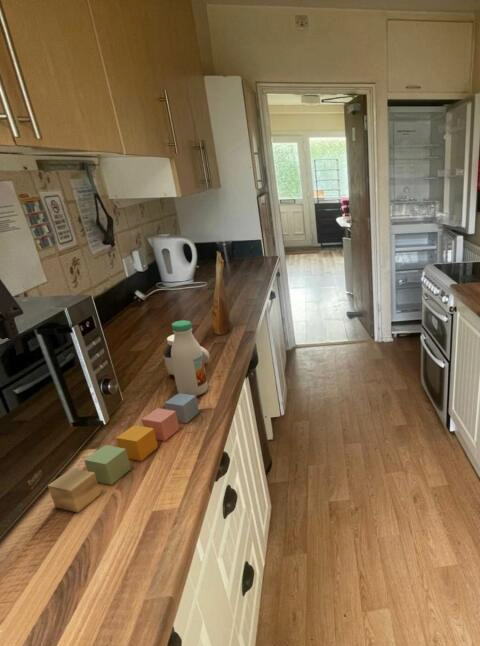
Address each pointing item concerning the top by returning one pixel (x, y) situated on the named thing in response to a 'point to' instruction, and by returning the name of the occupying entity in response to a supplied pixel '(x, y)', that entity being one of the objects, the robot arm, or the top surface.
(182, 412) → the blue-grey block
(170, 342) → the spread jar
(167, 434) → the dusty pink block
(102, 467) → the sage block
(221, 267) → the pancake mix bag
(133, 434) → the ochre block
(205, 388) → the milk bottle
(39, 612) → the top surface
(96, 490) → the birch block
